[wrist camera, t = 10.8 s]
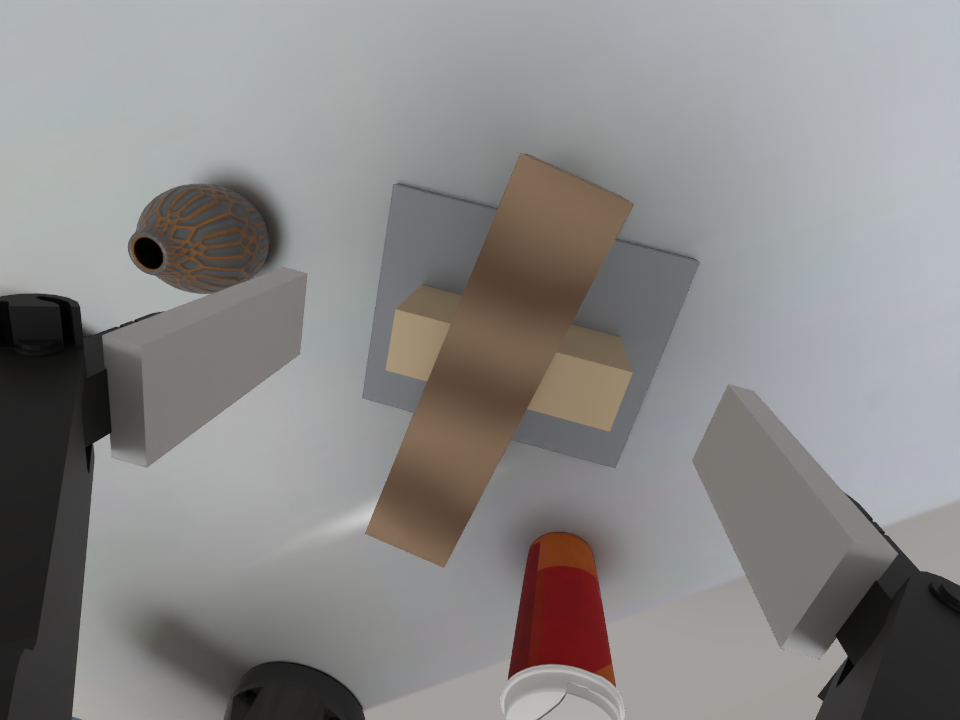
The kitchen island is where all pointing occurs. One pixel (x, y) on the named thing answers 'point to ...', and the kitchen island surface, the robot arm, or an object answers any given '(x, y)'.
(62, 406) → the robot arm
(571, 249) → the walnut bar
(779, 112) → the kitchen island surface
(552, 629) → the paper cup
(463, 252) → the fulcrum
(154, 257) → the vase
